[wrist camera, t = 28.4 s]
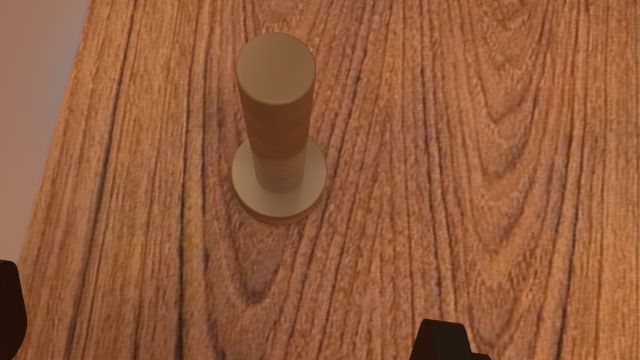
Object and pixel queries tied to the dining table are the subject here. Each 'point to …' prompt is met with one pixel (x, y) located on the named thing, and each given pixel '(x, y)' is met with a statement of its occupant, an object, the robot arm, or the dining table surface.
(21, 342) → the robot arm
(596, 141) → the dining table surface
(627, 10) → the dining table surface
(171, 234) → the dining table surface
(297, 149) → the peg on round base
